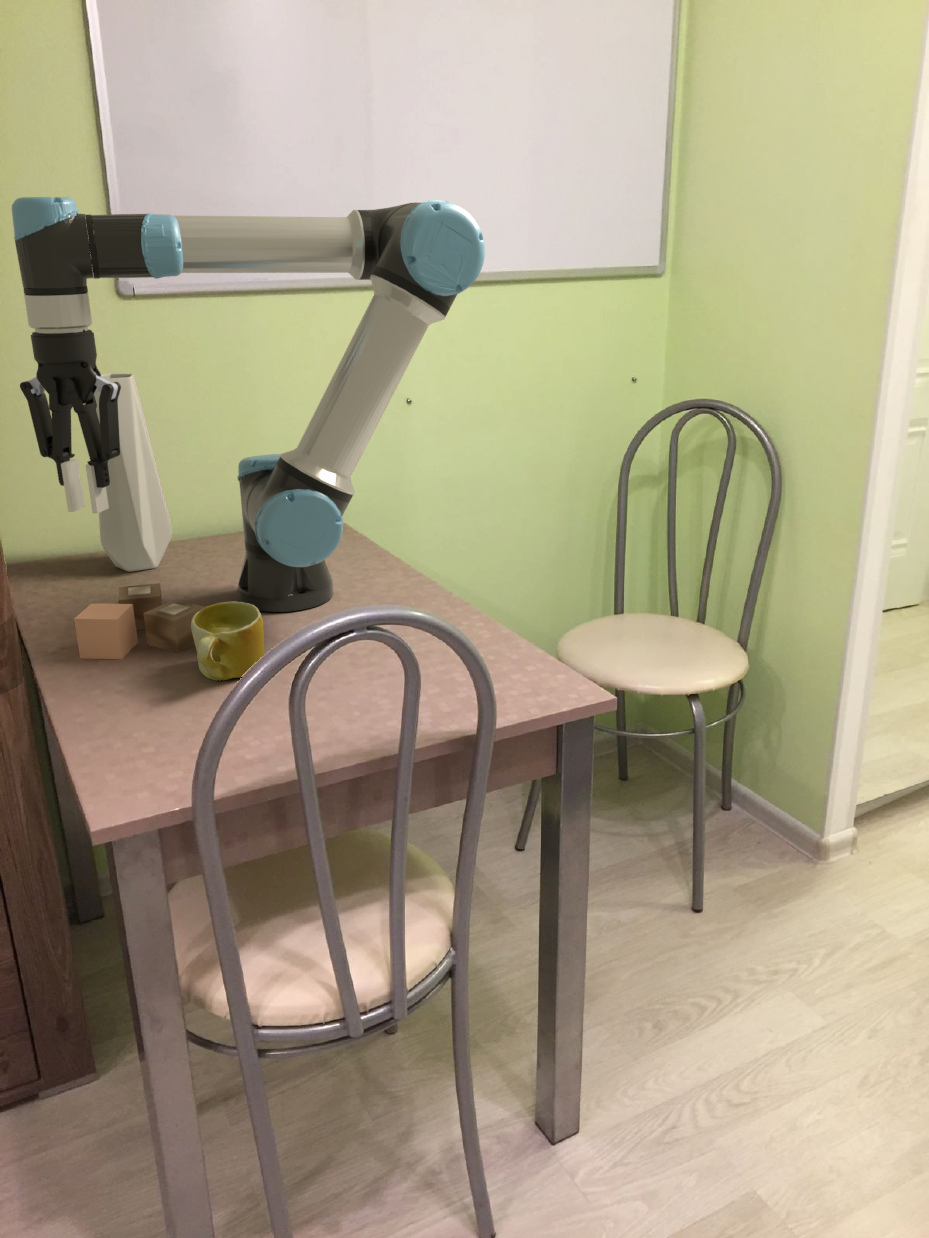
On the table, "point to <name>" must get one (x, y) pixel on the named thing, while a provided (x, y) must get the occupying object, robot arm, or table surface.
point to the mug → (227, 639)
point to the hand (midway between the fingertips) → (88, 509)
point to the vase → (133, 489)
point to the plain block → (106, 631)
